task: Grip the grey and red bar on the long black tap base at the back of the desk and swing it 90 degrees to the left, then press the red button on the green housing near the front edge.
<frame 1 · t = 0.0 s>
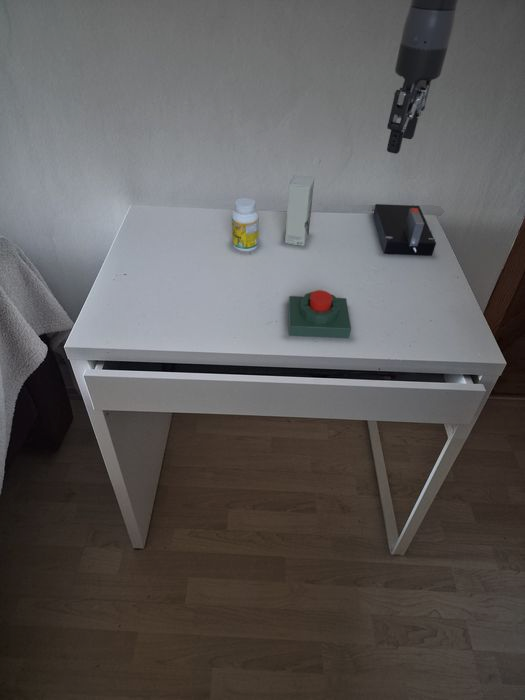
hand: (400, 144, 83), 19 cm above the table, tool pointing down, fingers open, 8 cm apart
grey and red bar: (413, 226, 89), point 6 cm above the table, hinge at 0.0°
button box: (317, 321, 77), on the table
button: (320, 301, 74), point 4 cm above the table, slide at 0.1 cm
box: (296, 240, 96), on the table
tap base: (400, 234, 98), on the table
supplement bottle: (245, 246, 93), on the table
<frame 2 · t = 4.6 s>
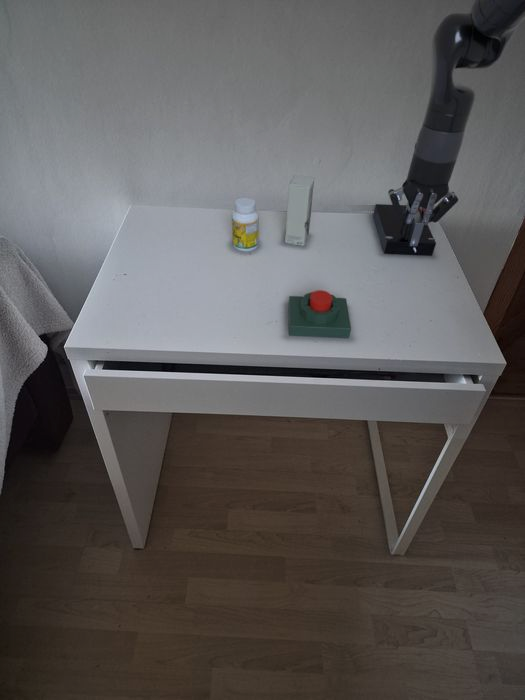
hand: (410, 238, 91), 3 cm above the table, tool pointing down, fingers closed on grey and red bar
grey and red bar: (413, 226, 89), point 6 cm above the table, hinge at 0.0°, touching gripper
everything else where it was.
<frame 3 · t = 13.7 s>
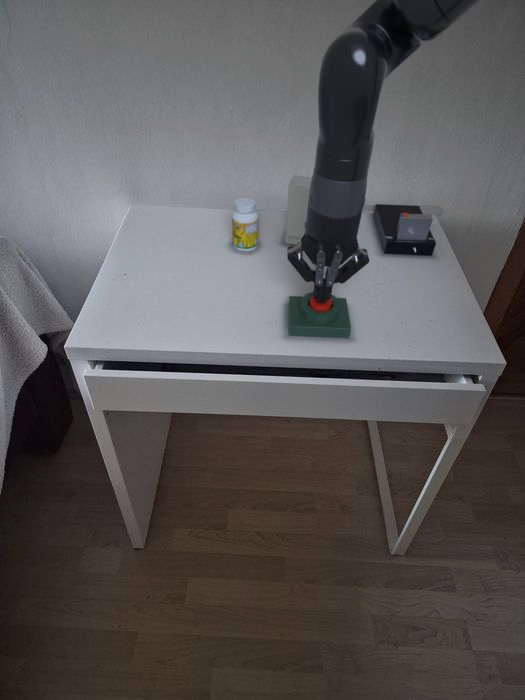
hand: (320, 300, 74), 5 cm above the table, tool pointing down, fingers closed
grey and red bar: (413, 226, 89), point 6 cm above the table, hinge at 89.8°
button: (320, 304, 74), point 4 cm above the table, slide at -0.7 cm, touching gripper
everything else where it was.
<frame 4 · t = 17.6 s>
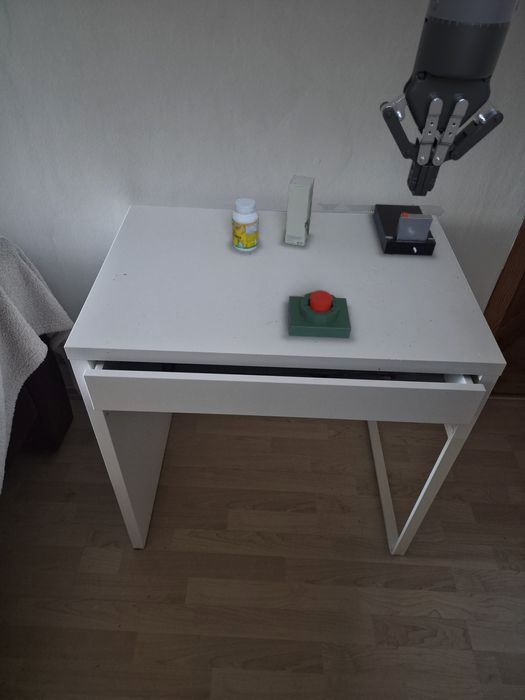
hand: (417, 193, 53), 27 cm above the table, tool pointing down, fingers closed
button: (320, 301, 74), point 4 cm above the table, slide at 0.1 cm
everything else where it was.
at the end: grey and red bar at +90° (first picture: +0°); button pushed in 1.1 cm at the most during the clip, back to where it started at the end; button slide at 0.1 cm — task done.
